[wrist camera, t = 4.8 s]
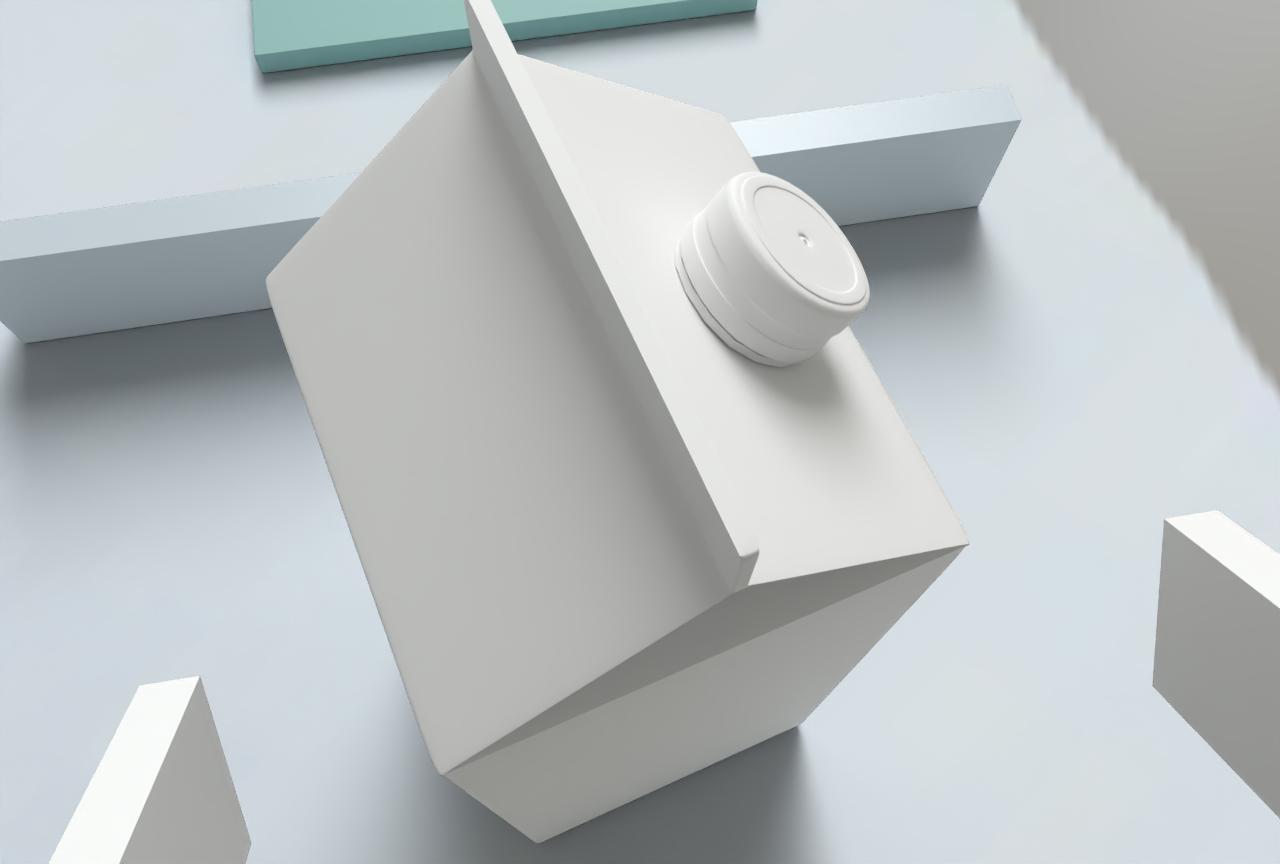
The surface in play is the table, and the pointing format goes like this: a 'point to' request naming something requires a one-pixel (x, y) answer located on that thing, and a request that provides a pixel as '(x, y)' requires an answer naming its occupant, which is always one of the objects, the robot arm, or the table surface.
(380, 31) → the teal board
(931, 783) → the table surface
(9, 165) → the table surface
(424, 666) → the milk carton
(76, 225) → the acrylic wall
